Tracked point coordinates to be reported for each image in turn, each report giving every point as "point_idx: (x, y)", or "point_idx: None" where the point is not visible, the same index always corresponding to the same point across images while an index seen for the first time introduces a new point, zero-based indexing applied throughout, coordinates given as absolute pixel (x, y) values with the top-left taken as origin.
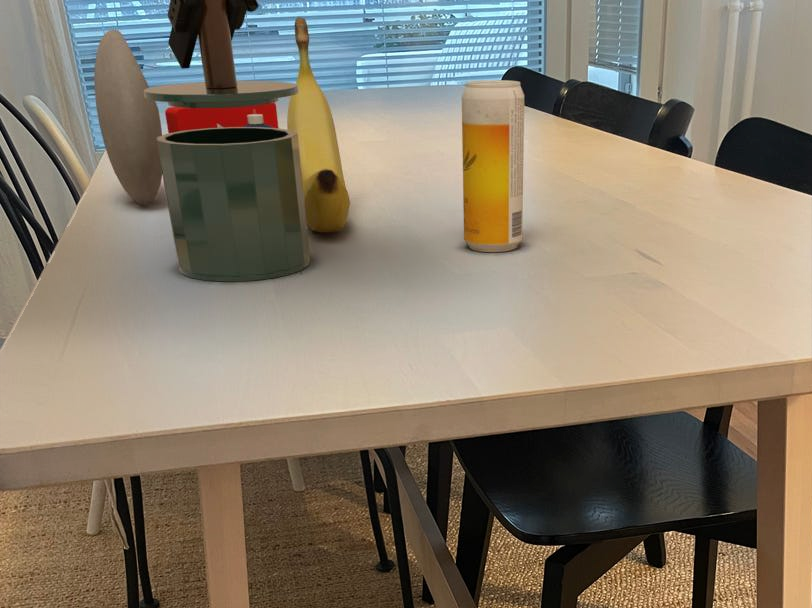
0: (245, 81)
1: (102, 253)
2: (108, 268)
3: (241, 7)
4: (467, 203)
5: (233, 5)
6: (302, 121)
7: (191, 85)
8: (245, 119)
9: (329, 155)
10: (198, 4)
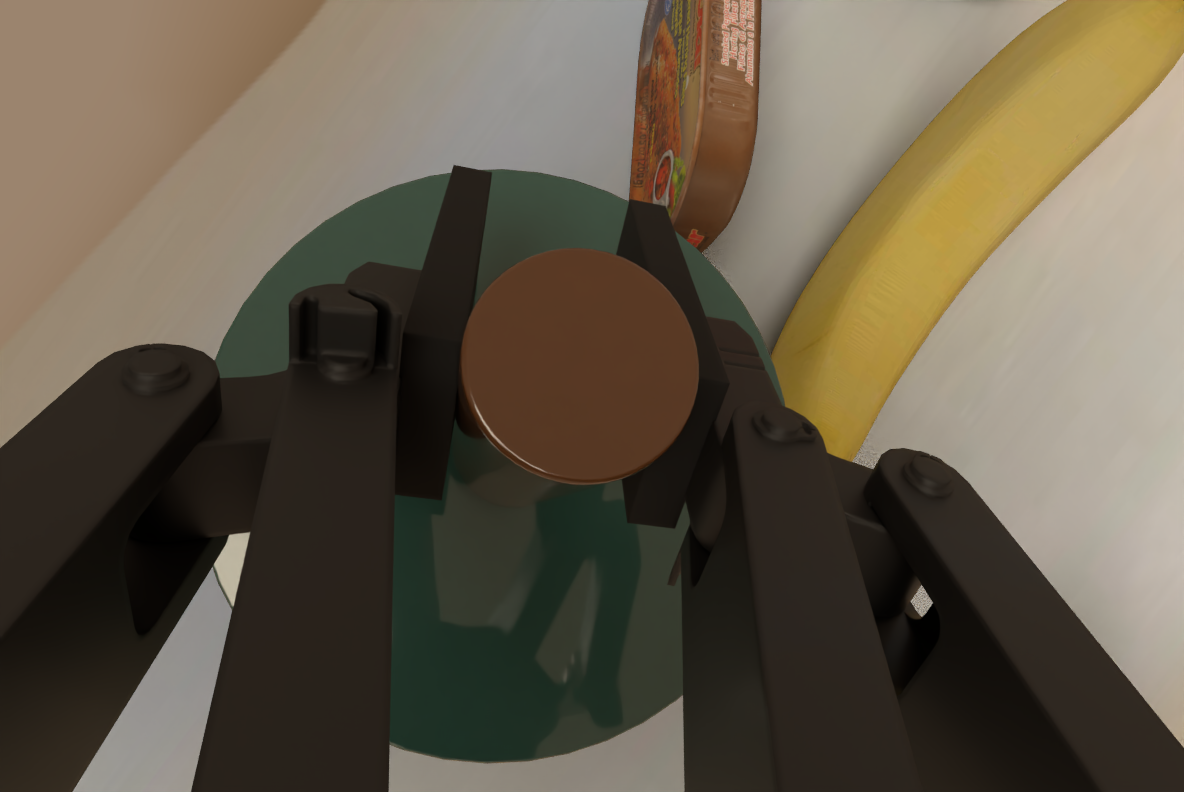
0: (720, 316)
1: (342, 123)
2: (261, 255)
3: (672, 527)
4: None
5: (631, 515)
6: (1030, 104)
7: (495, 278)
8: None
9: (986, 237)
10: (415, 477)
